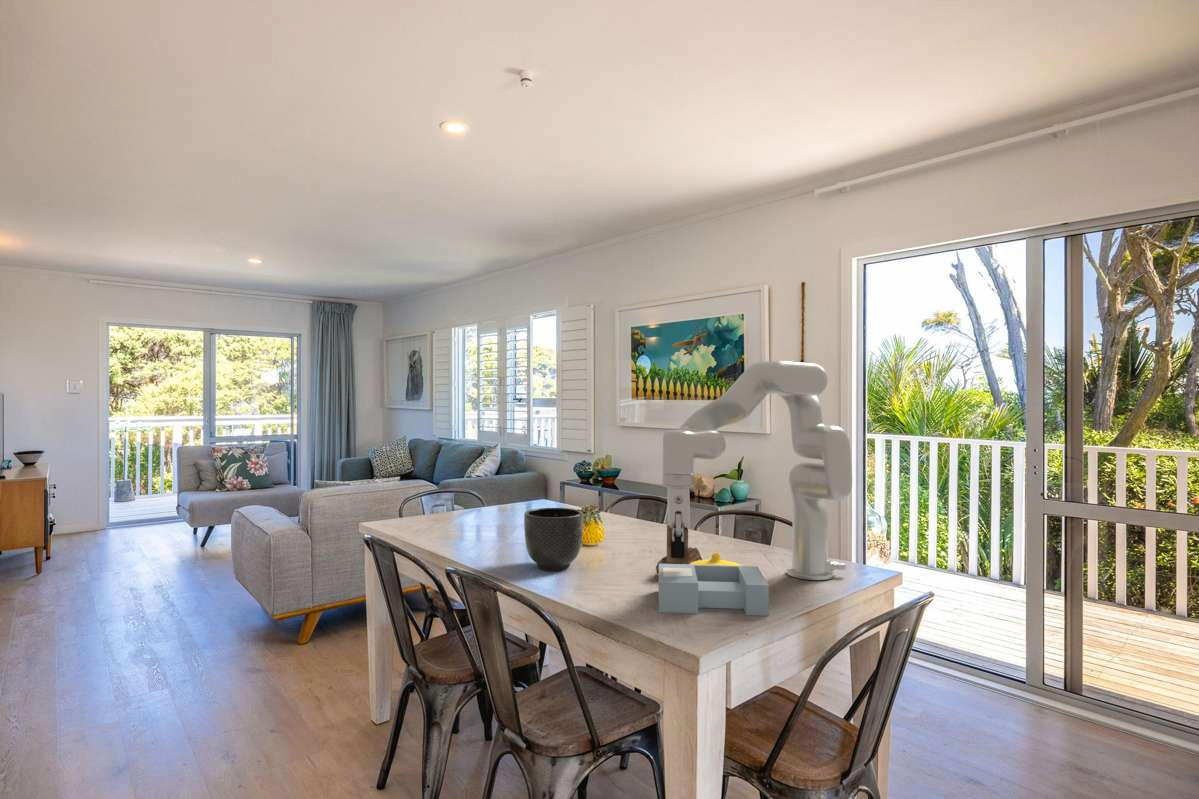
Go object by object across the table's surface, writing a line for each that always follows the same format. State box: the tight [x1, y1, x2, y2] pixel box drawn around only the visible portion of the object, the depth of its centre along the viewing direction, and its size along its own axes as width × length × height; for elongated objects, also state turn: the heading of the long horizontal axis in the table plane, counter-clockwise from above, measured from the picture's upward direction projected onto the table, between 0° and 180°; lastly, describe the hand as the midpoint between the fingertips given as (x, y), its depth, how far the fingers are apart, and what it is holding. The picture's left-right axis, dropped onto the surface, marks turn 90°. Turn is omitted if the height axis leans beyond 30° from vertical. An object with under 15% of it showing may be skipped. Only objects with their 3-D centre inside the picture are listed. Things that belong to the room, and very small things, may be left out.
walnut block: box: [666, 524, 689, 563], centre depth 162 cm, size 5×5×8 cm
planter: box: [523, 507, 584, 572], centre depth 194 cm, size 17×17×16 cm
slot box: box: [658, 564, 770, 617], centre depth 161 cm, size 25×17×7 cm
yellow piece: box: [690, 552, 742, 566], centre depth 182 cm, size 16×16×7 cm
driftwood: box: [655, 546, 704, 575], centre depth 189 cm, size 23×8×8 cm, turn 157°
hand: (677, 554), depth 162 cm, fingers closed on walnut block, 5 cm apart
